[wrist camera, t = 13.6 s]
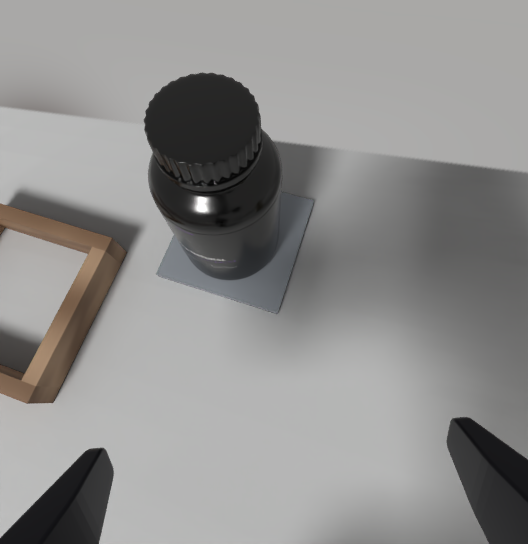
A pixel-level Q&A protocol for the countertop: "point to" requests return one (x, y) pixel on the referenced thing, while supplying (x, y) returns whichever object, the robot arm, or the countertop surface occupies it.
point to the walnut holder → (74, 310)
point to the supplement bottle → (215, 174)
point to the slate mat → (262, 285)
